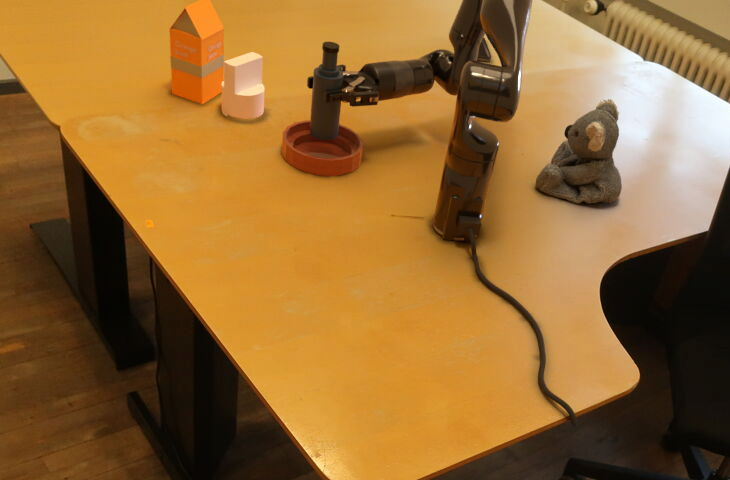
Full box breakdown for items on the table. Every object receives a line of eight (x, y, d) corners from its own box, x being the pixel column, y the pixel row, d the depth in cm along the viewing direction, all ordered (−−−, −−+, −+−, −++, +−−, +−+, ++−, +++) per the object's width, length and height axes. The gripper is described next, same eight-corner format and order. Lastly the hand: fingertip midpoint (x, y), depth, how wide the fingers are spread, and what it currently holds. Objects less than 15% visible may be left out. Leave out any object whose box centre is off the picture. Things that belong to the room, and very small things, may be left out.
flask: (338, 141, 170) (346, 52, 157) (309, 138, 168) (315, 49, 156) (337, 128, 174) (345, 40, 162) (309, 125, 172) (315, 36, 160)
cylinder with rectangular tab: (241, 98, 188) (242, 46, 180) (272, 113, 185) (274, 61, 177) (212, 109, 182) (212, 56, 174) (244, 125, 179) (245, 72, 171)
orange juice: (171, 93, 184) (167, 1, 170) (194, 80, 190) (192, -10, 177) (202, 104, 182) (201, 13, 169) (224, 90, 189) (224, 1, 176)
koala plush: (553, 160, 194) (576, 80, 181) (625, 187, 191) (654, 108, 178) (530, 191, 181) (553, 108, 168) (607, 220, 178) (637, 137, 165)
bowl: (362, 183, 171) (364, 163, 168) (280, 175, 167) (281, 155, 164) (358, 143, 183) (361, 124, 180) (282, 135, 179) (283, 116, 176)
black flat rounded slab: (484, 36, 240) (491, 58, 230) (483, 40, 241) (491, 62, 230) (457, 32, 239) (464, 54, 228) (456, 36, 239) (463, 58, 229)
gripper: (370, 48, 174) (299, 56, 165) (409, 78, 166) (337, 88, 157) (366, 82, 179) (297, 92, 169) (404, 113, 171) (334, 124, 162)
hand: (316, 90), depth 163 cm, fingers closed on flask, 6 cm apart
